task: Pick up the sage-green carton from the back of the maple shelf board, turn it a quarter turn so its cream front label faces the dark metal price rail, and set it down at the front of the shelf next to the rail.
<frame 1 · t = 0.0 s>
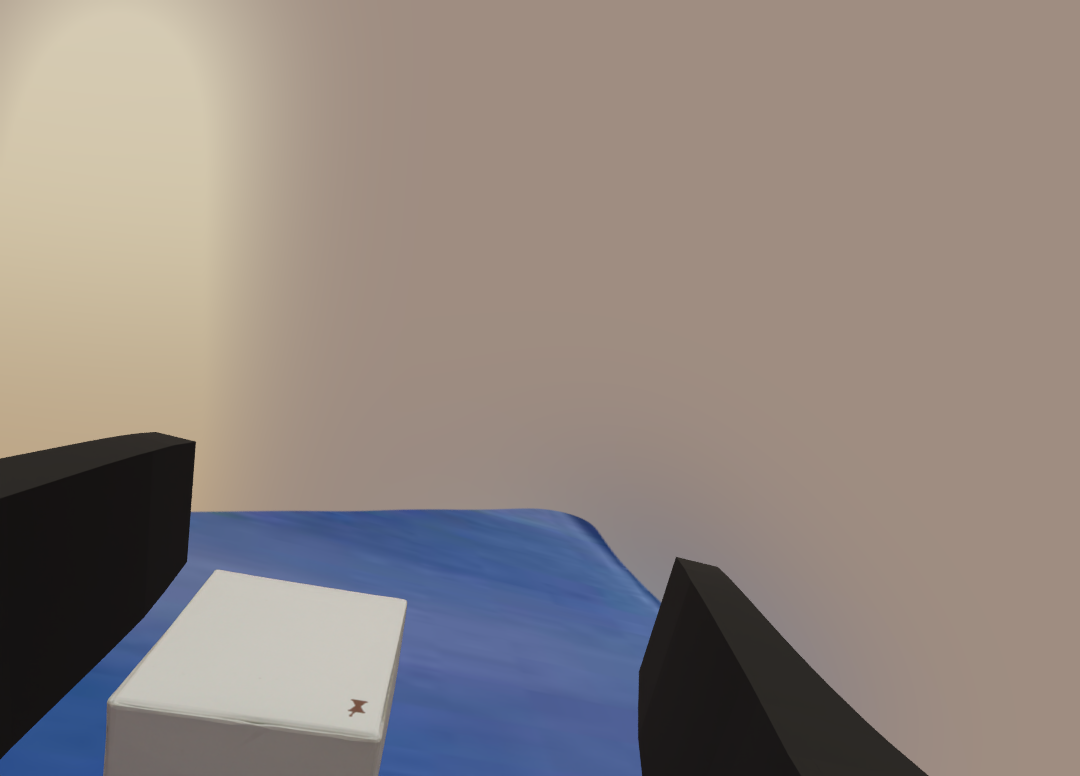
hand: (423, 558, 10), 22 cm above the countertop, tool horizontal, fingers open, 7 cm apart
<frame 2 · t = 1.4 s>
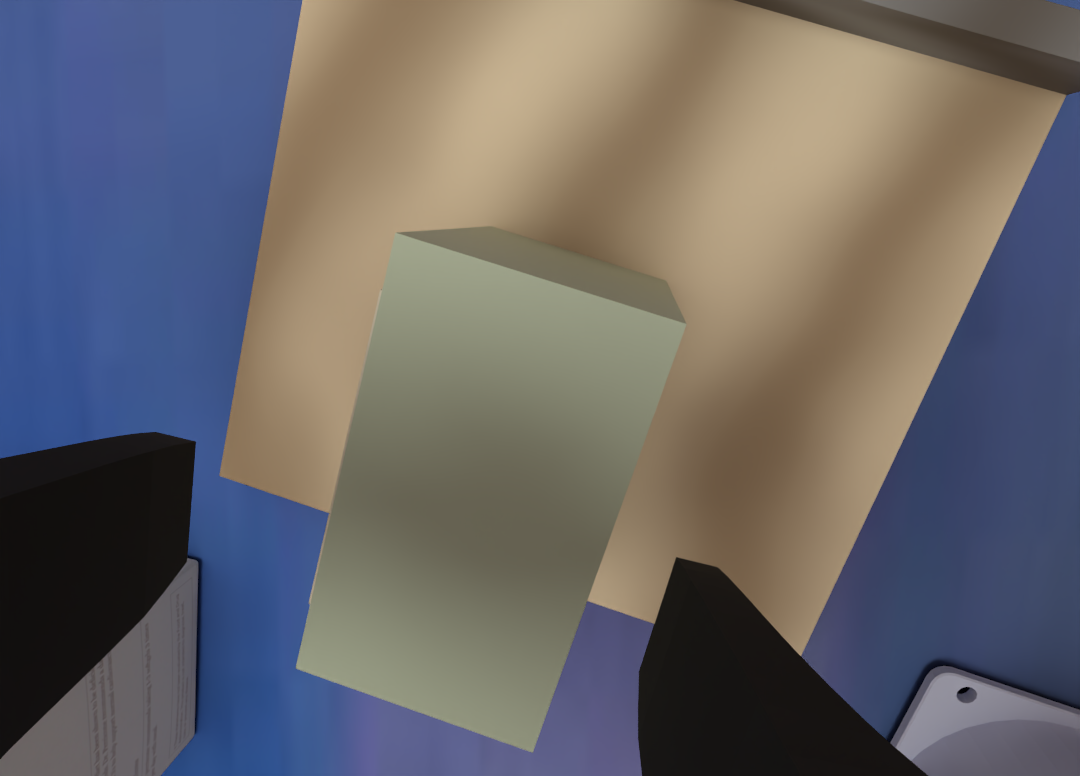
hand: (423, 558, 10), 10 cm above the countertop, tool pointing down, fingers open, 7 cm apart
supplement box: (106, 625, 24), on the countertop
shelf: (589, 291, 18), on the countertop
carton: (532, 402, 18), point 1 cm above the countertop, touching shelf
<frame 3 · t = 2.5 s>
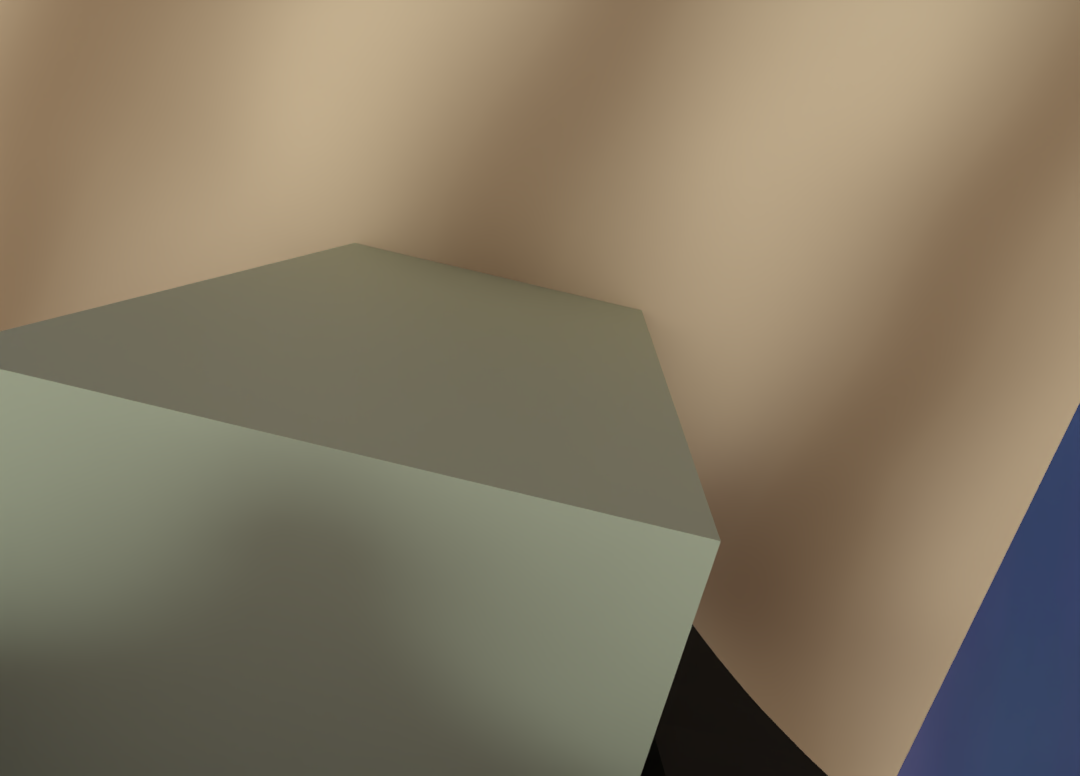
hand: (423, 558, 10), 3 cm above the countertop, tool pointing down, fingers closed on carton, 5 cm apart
shelf: (523, 326, 12), on the countertop
carton: (451, 506, 12), point 2 cm above the countertop, touching gripper
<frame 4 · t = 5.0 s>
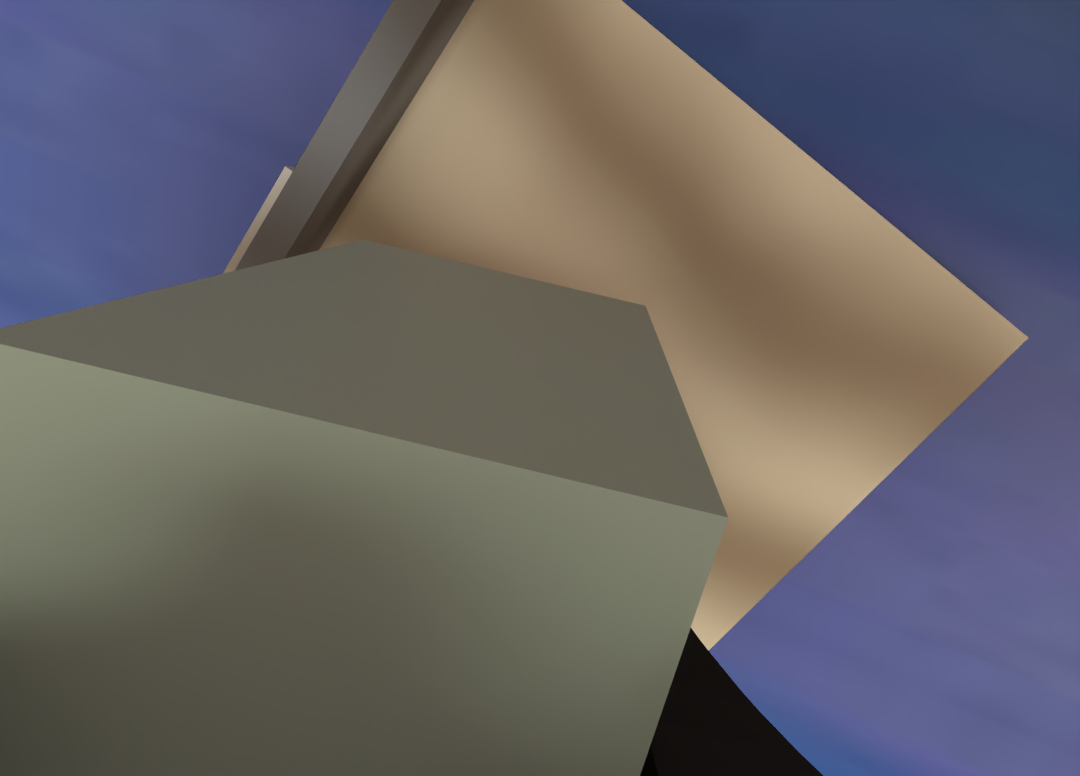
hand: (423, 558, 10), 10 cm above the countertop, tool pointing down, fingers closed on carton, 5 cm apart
shelf: (557, 389, 19), on the countertop
carton: (457, 499, 12), point 8 cm above the countertop, touching gripper
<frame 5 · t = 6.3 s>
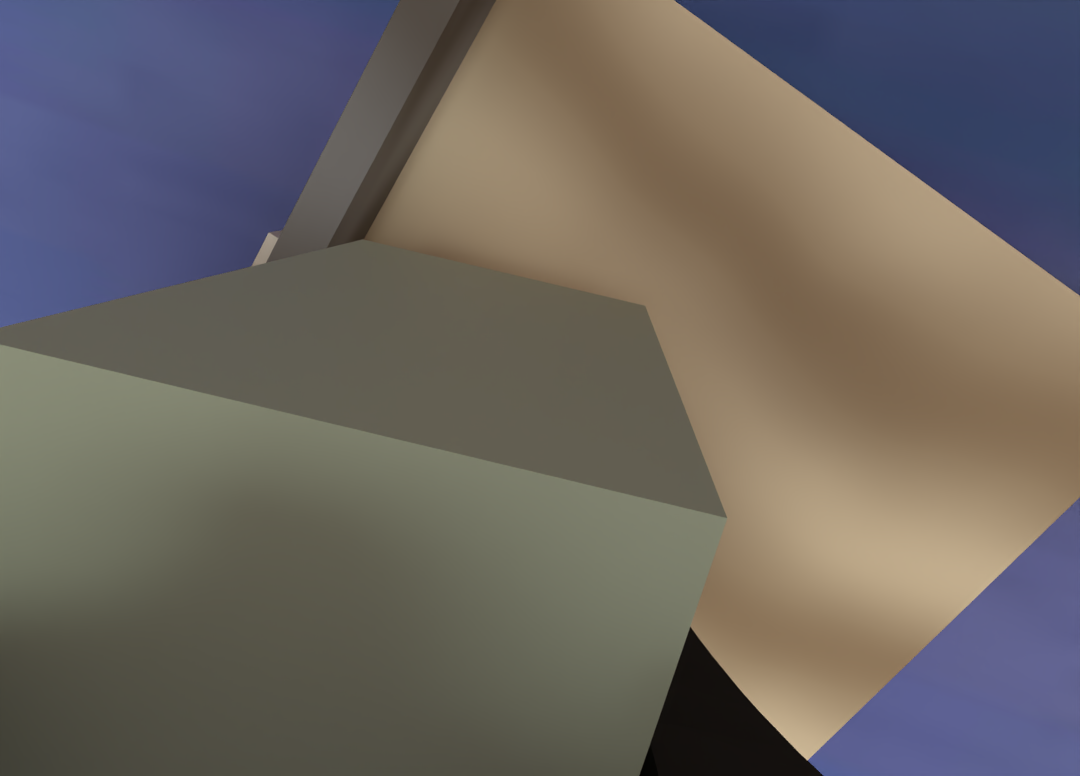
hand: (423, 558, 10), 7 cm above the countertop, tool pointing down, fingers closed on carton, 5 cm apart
shelf: (607, 463, 16), on the countertop
carton: (456, 499, 12), point 5 cm above the countertop, touching gripper
when the fingers open (4 cm above the countertop, at t = 7.3 s): carton stays where it is, resting on shelf.
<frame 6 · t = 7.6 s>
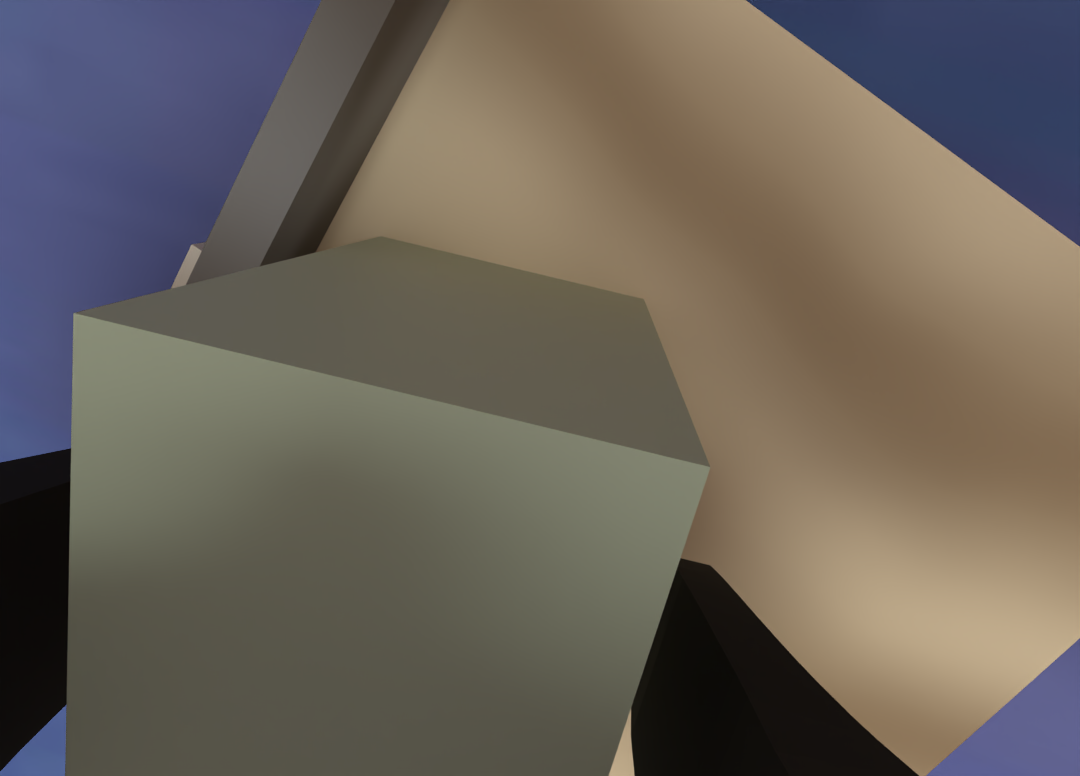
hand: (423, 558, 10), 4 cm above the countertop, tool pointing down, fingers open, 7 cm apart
shelf: (608, 509, 14), on the countertop
carton: (466, 481, 13), point 1 cm above the countertop, touching shelf
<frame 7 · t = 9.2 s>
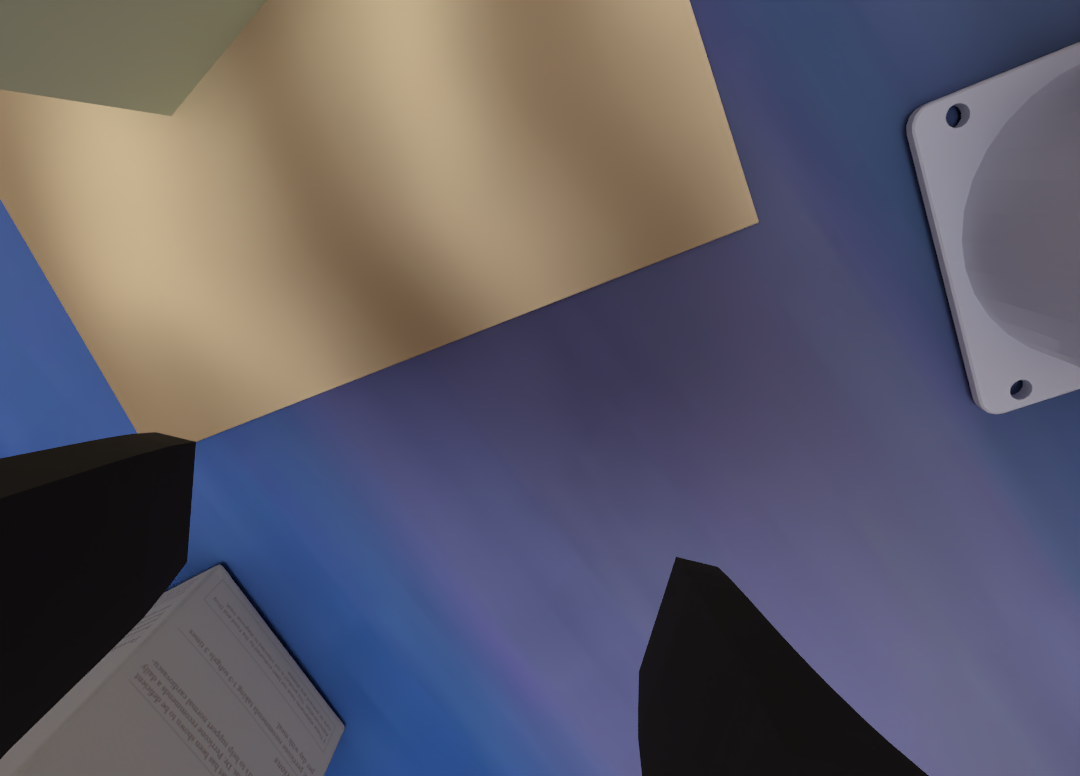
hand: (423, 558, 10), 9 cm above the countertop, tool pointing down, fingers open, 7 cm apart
supplement box: (207, 683, 23), on the countertop
shelf: (308, 40, 17), on the countertop
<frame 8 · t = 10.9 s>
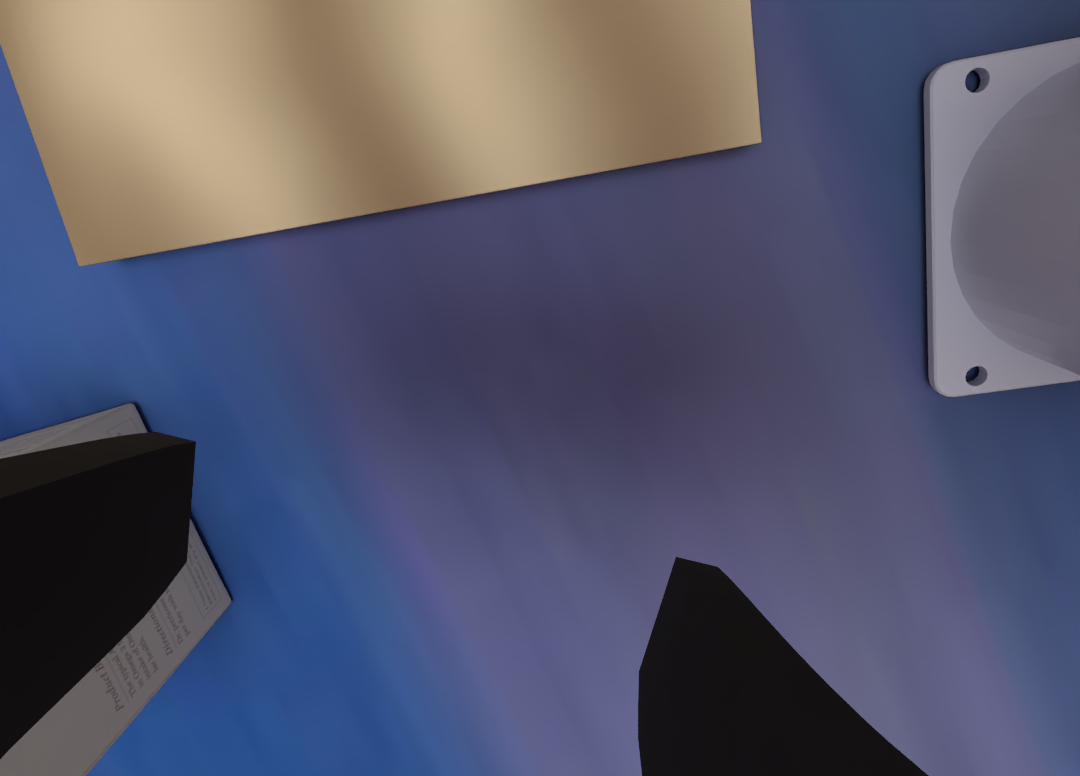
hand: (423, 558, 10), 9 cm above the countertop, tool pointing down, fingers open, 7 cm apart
supplement box: (95, 530, 22), on the countertop
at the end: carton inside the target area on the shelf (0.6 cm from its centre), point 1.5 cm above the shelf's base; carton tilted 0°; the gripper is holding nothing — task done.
